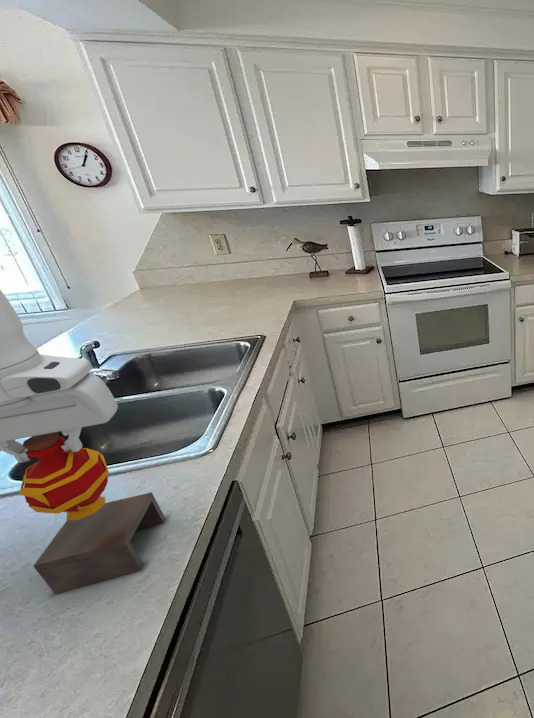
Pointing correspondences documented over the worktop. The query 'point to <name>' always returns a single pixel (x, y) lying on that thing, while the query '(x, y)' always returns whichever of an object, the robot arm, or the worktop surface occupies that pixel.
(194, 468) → the worktop surface
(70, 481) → the potion bottle
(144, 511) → the shelf
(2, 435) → the robot arm
